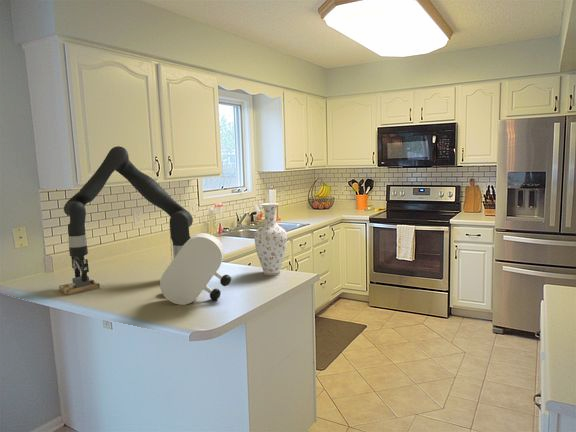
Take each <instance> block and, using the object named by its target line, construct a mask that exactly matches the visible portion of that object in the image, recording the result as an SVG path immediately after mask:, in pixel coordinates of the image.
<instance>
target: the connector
mask: <svg viewBox="0 0 576 432" xmlns="http://www.w3.org/2000/svg"><path fill="white" fill-rule="evenodd" d="M89 280H90V277H89V276H88V275H87V281H85V282H82V277H81V276H80V277H76V278H75V277H73V278H72V280H71V281H72V282H70V283H67V284H68V285H69V286H70V287H72V286H73V288H79V287H84V286H88V285H90V283H92V282H94V281H95V280H94V279H91V280H90V281H89Z"/></svg>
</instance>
